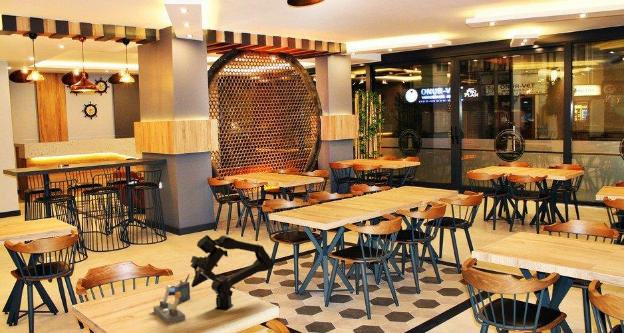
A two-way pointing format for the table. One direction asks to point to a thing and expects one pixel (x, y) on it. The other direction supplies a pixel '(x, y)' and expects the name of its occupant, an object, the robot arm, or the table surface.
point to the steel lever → (166, 293)
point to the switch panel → (168, 313)
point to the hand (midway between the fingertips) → (192, 286)
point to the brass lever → (176, 301)
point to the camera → (172, 291)
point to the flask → (183, 291)
